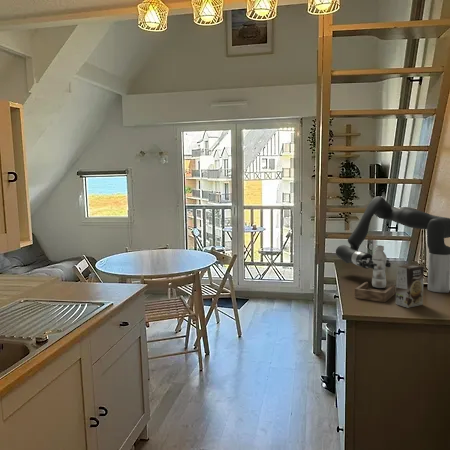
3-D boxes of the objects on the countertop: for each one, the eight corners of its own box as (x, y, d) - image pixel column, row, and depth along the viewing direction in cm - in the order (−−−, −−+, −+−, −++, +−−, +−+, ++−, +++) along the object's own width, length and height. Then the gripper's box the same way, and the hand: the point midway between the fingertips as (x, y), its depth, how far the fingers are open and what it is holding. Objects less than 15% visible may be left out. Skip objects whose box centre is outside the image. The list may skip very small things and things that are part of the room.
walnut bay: (394, 294, 194) (395, 285, 193) (385, 302, 182) (385, 293, 181) (365, 290, 201) (365, 281, 201) (354, 297, 189) (354, 288, 189)
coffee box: (408, 308, 173) (409, 268, 171) (395, 304, 179) (396, 265, 177) (423, 304, 177) (424, 266, 176) (410, 301, 183) (411, 263, 181)
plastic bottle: (378, 290, 200) (379, 247, 198) (368, 287, 207) (369, 245, 204) (389, 288, 203) (390, 246, 201) (378, 285, 209) (379, 244, 207)
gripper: (349, 252, 215) (368, 258, 200) (375, 251, 219) (395, 256, 203) (349, 267, 216) (368, 274, 200) (374, 265, 220) (394, 272, 204)
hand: (381, 265), depth 202 cm, fingers open, 8 cm apart
